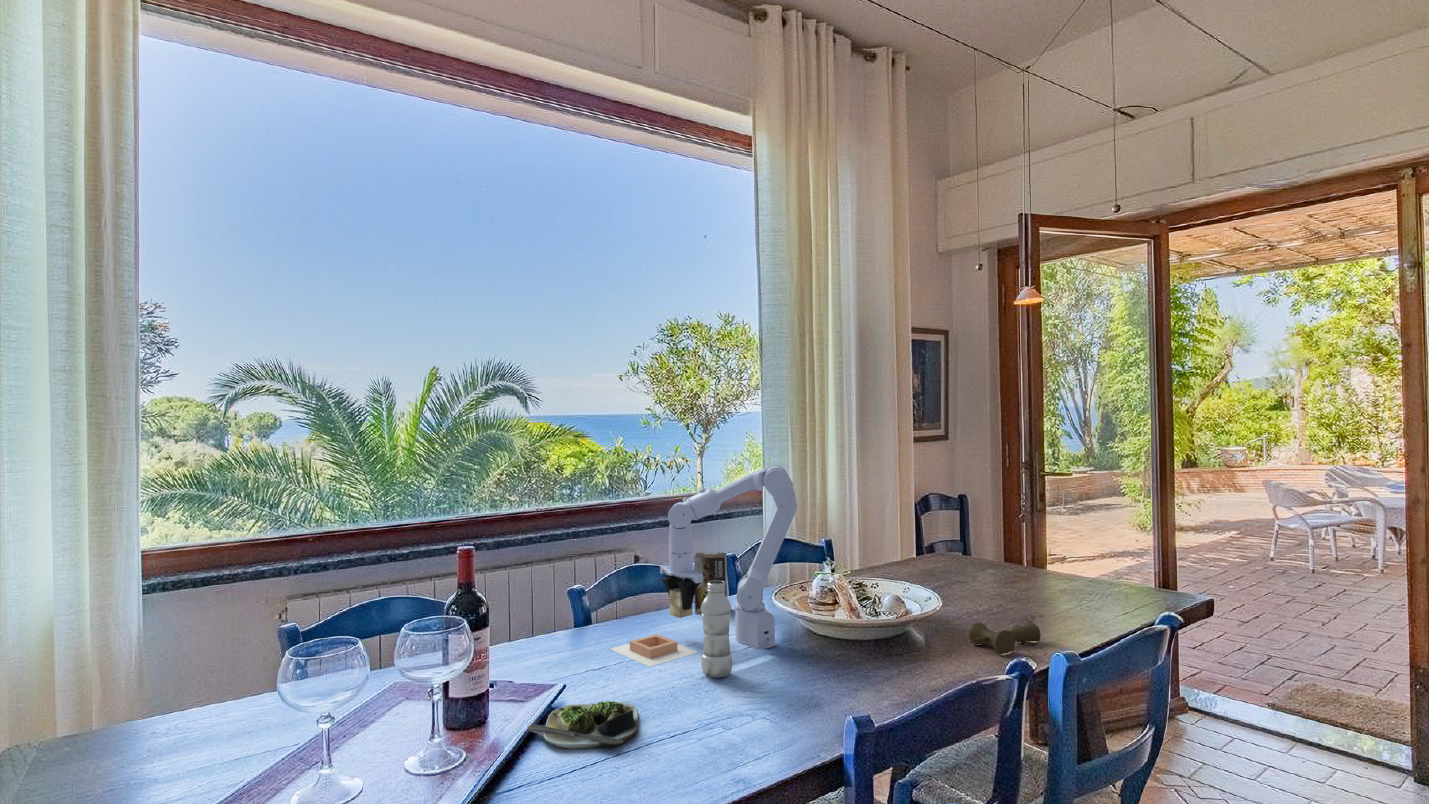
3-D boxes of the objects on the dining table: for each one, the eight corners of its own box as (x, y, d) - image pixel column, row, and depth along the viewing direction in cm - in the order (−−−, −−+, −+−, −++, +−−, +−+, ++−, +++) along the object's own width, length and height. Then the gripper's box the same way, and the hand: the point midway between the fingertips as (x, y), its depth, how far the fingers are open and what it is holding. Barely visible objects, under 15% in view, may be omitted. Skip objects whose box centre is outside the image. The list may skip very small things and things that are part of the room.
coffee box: (728, 608, 202) (727, 552, 202) (726, 614, 195) (725, 556, 196) (696, 607, 203) (696, 552, 203) (694, 613, 196) (693, 556, 196)
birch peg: (692, 614, 171) (692, 590, 171) (679, 618, 168) (679, 593, 168) (682, 611, 174) (682, 587, 174) (669, 614, 171) (669, 590, 171)
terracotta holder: (677, 650, 163) (677, 641, 163) (649, 658, 157) (649, 649, 157) (656, 642, 169) (656, 634, 169) (629, 650, 163) (629, 641, 163)
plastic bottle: (729, 682, 145) (729, 586, 146) (698, 680, 147) (697, 585, 147) (735, 671, 152) (734, 579, 152) (704, 669, 153) (704, 578, 154)
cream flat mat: (698, 656, 162) (698, 651, 162) (649, 671, 152) (649, 666, 152) (656, 639, 173) (656, 635, 174) (609, 652, 164) (609, 648, 164)
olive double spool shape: (1050, 650, 166) (986, 660, 158) (1018, 639, 174) (956, 648, 167) (1049, 624, 166) (985, 633, 158) (1017, 615, 175) (955, 623, 167)
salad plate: (519, 760, 114) (519, 731, 114) (536, 713, 132) (536, 689, 132) (637, 753, 116) (637, 725, 116) (638, 708, 134) (638, 684, 134)
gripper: (650, 549, 174) (650, 604, 174) (686, 558, 163) (687, 616, 163) (672, 546, 179) (672, 599, 179) (709, 554, 168) (709, 610, 168)
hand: (681, 607), depth 171 cm, fingers closed on birch peg, 4 cm apart
